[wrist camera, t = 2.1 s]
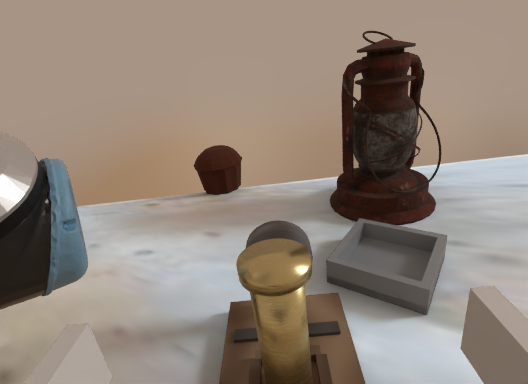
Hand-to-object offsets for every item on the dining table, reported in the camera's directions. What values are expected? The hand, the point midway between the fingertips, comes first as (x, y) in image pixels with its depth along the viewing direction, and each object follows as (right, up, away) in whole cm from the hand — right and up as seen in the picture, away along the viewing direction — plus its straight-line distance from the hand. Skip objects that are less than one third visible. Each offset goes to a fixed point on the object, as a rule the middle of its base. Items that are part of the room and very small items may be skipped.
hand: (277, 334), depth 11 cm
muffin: (-11, +6, +66) cm, 68 cm away
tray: (+16, -5, +32) cm, 36 cm away
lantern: (+22, +3, +50) cm, 55 cm away
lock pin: (+2, -12, +16) cm, 21 cm away
